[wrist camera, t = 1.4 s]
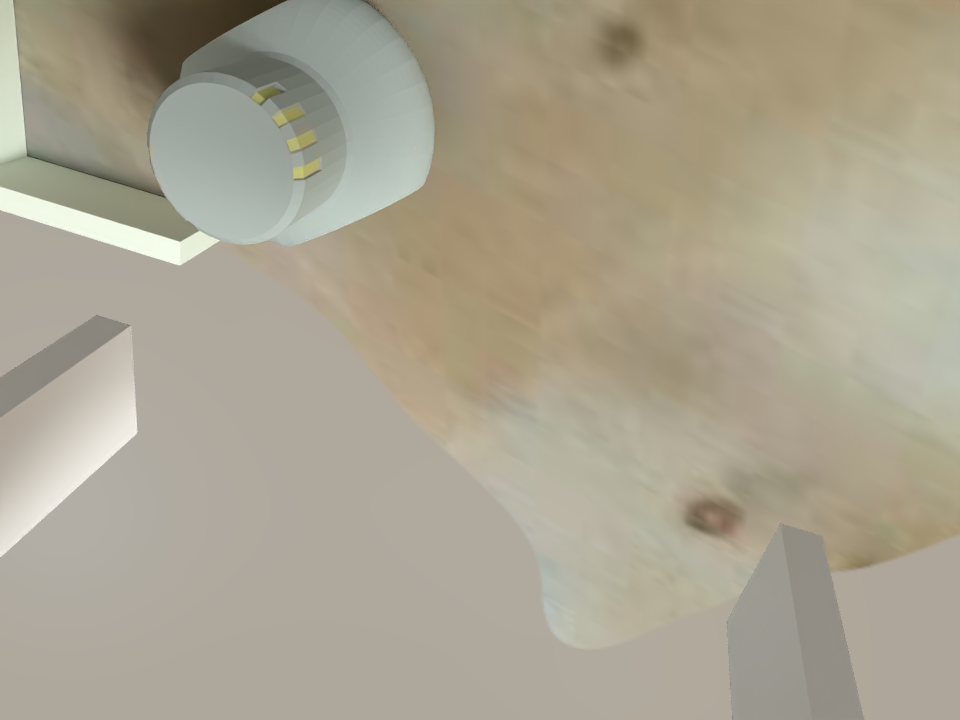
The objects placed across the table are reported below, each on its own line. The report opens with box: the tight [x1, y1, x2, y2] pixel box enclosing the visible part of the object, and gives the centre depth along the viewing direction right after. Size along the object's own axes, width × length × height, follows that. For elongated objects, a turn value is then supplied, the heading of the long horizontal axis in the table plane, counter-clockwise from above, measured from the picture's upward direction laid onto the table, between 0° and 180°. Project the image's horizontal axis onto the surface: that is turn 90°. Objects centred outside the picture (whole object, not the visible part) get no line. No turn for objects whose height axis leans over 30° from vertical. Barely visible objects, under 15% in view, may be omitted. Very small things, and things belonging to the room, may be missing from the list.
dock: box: [0, 0, 220, 265], centre depth 33 cm, size 15×12×4 cm
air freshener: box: [147, 0, 435, 247], centre depth 30 cm, size 11×8×10 cm
